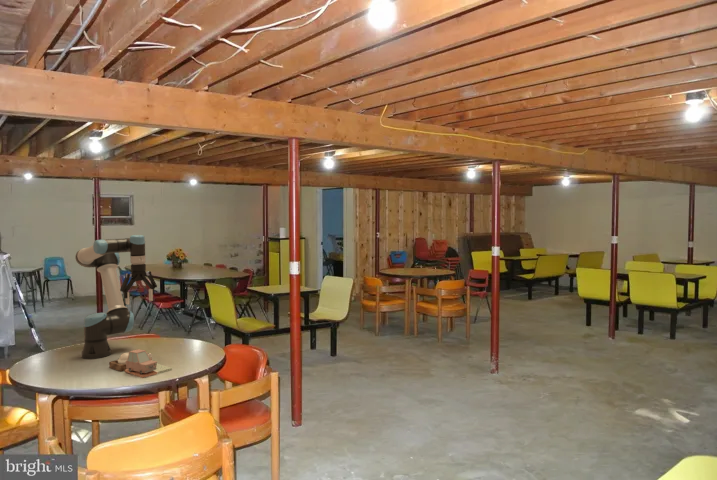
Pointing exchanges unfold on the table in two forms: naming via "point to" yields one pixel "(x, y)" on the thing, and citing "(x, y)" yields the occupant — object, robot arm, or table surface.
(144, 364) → the toy car
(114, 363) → the dome housing
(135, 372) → the board
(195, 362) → the table surface
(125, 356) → the dome
